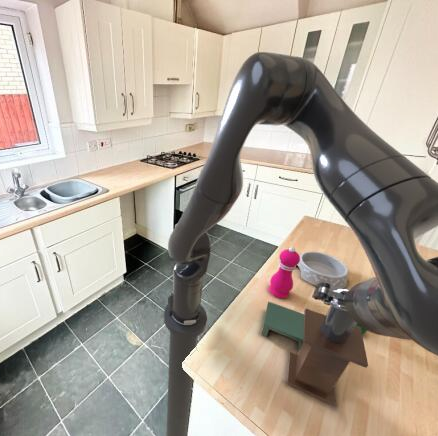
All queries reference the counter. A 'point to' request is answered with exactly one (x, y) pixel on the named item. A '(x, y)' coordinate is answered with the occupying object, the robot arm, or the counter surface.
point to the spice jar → (337, 325)
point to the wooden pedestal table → (323, 359)
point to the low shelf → (284, 322)
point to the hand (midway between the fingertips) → (354, 309)
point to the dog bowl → (323, 269)
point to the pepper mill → (284, 273)
